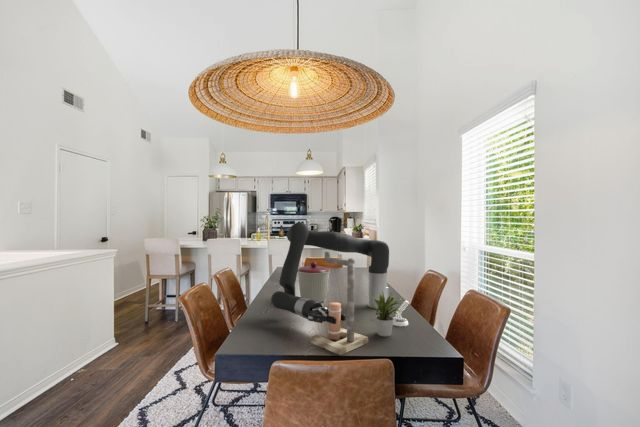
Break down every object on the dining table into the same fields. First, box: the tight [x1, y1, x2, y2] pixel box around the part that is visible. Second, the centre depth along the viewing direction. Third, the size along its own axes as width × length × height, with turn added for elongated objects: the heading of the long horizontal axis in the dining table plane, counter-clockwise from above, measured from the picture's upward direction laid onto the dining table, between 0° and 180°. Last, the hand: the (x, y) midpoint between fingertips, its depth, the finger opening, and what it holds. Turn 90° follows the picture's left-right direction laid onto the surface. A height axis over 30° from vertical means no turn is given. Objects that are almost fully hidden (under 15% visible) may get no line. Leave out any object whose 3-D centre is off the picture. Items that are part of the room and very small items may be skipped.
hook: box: [393, 300, 410, 327], centre depth 134 cm, size 8×12×7 cm
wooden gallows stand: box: [309, 251, 369, 356], centre depth 113 cm, size 14×15×32 cm
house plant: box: [368, 291, 401, 337], centre depth 120 cm, size 14×14×16 cm
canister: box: [297, 261, 331, 303], centre depth 168 cm, size 18×18×21 cm
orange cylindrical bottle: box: [327, 301, 342, 340], centre depth 115 cm, size 5×5×12 cm
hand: (340, 319), depth 113 cm, fingers closed on orange cylindrical bottle, 4 cm apart
